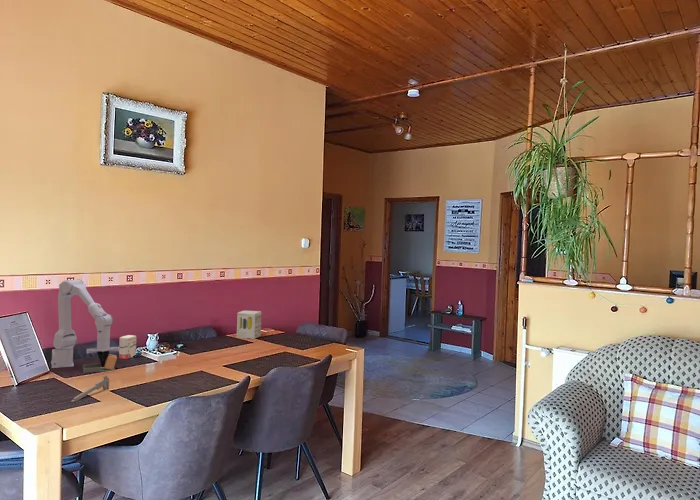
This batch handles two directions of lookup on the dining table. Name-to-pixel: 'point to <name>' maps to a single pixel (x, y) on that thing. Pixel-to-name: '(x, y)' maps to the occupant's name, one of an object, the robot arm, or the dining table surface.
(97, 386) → the caliper
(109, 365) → the block
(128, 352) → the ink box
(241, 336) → the supplement box
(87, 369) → the case
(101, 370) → the pad
